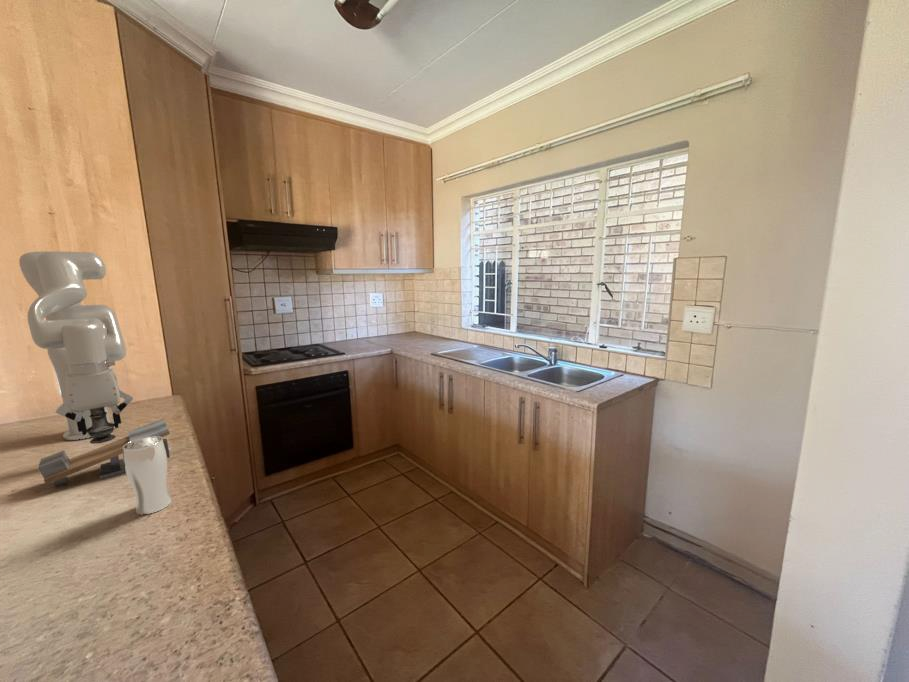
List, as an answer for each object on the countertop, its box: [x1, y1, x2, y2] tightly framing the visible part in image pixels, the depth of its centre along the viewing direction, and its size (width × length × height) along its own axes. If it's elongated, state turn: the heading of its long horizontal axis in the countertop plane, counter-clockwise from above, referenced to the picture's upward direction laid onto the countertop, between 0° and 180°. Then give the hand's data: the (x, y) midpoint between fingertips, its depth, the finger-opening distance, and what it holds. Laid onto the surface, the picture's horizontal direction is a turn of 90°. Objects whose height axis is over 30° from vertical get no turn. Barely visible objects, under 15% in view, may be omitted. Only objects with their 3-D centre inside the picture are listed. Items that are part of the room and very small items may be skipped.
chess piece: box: [86, 407, 116, 445], centre depth 102 cm, size 6×6×12 cm
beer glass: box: [122, 436, 172, 516], centre depth 79 cm, size 7×7×15 cm
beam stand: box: [53, 438, 170, 489], centre depth 95 cm, size 8×22×5 cm, turn 133°
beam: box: [37, 418, 171, 485], centre depth 94 cm, size 10×24×4 cm, turn 133°
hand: (101, 429), depth 102 cm, fingers closed on chess piece, 5 cm apart
